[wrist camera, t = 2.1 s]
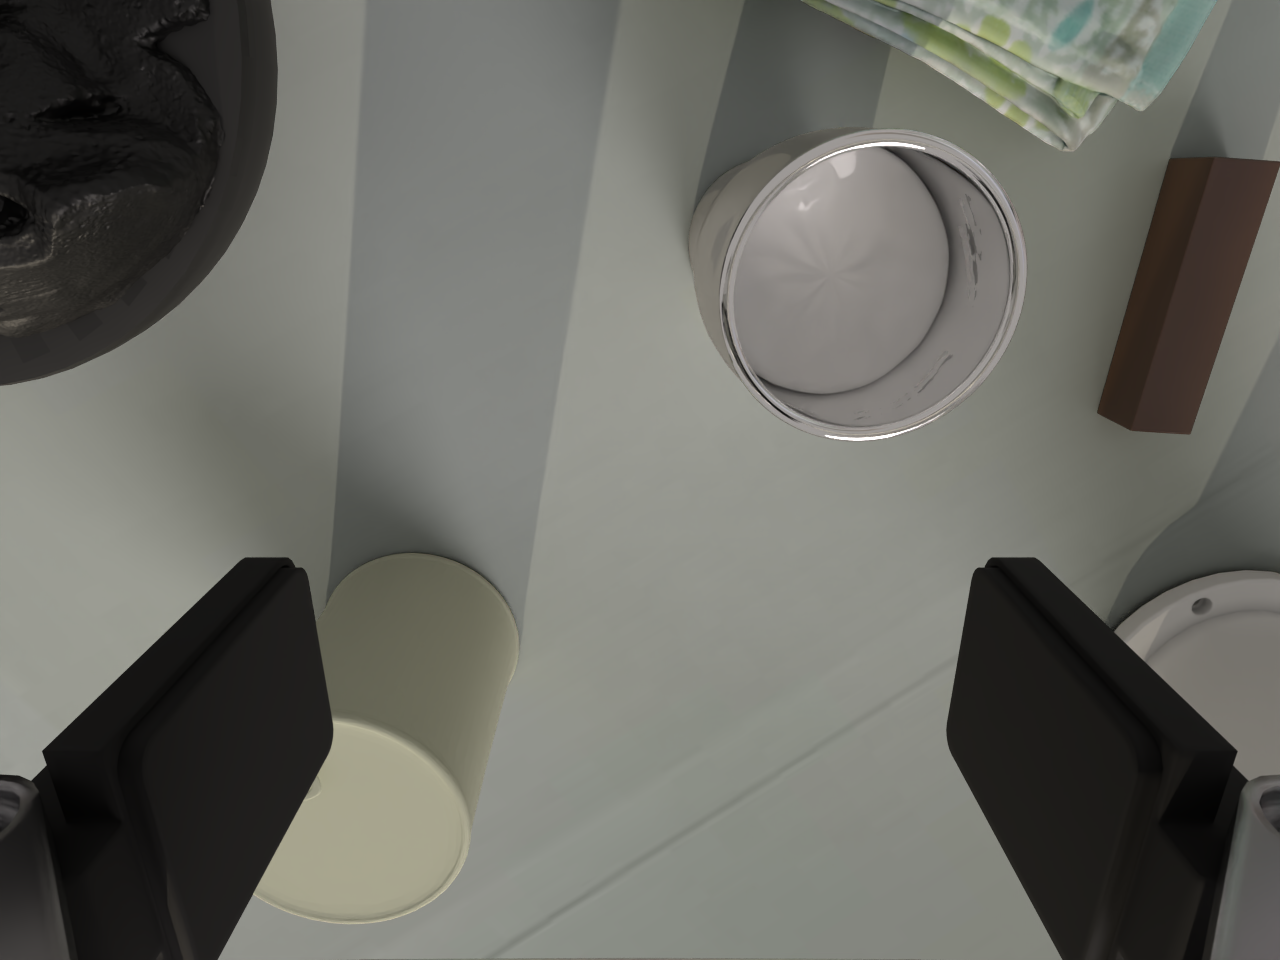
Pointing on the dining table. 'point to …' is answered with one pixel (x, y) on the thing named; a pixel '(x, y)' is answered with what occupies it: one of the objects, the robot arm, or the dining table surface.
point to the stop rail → (1185, 290)
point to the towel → (1040, 52)
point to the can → (397, 740)
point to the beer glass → (859, 278)
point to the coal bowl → (122, 164)
